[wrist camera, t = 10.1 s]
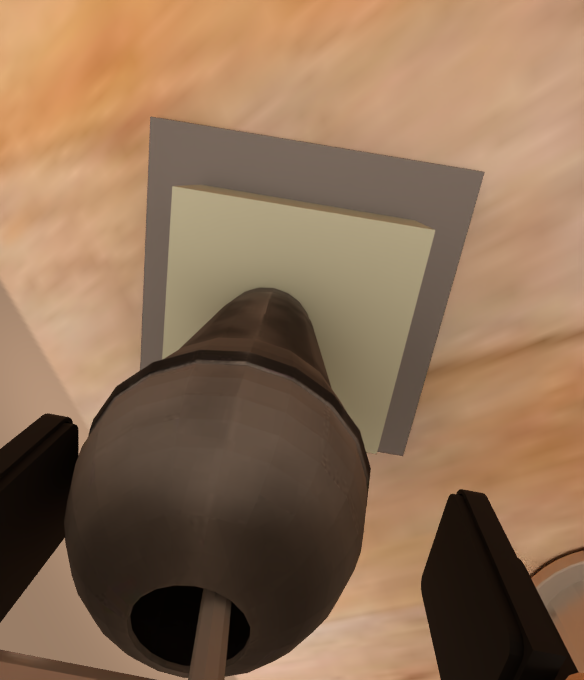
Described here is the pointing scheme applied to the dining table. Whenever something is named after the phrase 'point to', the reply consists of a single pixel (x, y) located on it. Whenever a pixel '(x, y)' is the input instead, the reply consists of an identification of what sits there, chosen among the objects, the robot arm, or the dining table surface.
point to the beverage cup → (220, 497)
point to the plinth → (323, 185)
